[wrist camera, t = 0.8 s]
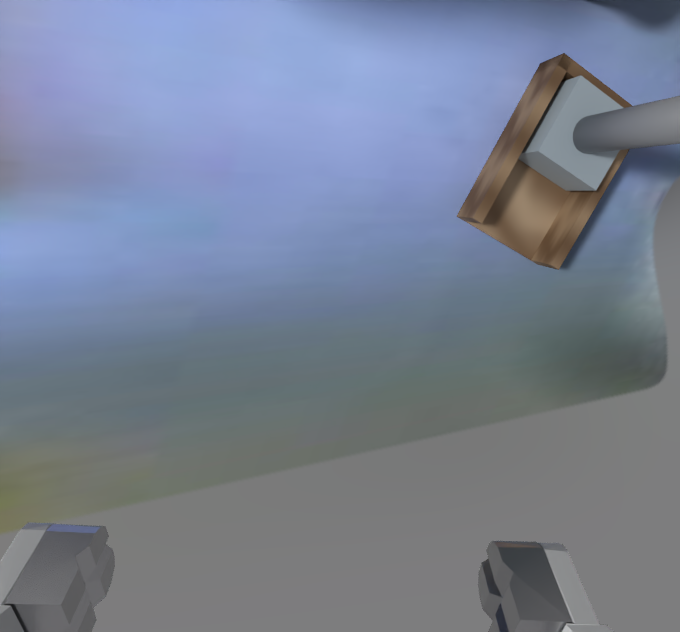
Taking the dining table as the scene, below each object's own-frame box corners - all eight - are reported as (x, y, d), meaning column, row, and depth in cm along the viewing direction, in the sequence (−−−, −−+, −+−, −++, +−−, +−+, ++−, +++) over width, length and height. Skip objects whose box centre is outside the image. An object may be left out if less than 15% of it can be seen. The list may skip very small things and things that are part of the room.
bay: (540, 63, 52) (564, 53, 48) (619, 122, 55) (648, 117, 51) (456, 216, 54) (472, 218, 50) (537, 264, 58) (558, 269, 54)
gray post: (549, 85, 52) (713, 29, 34) (603, 125, 54) (783, 92, 36) (511, 154, 53) (651, 135, 35) (565, 190, 55) (722, 190, 37)
